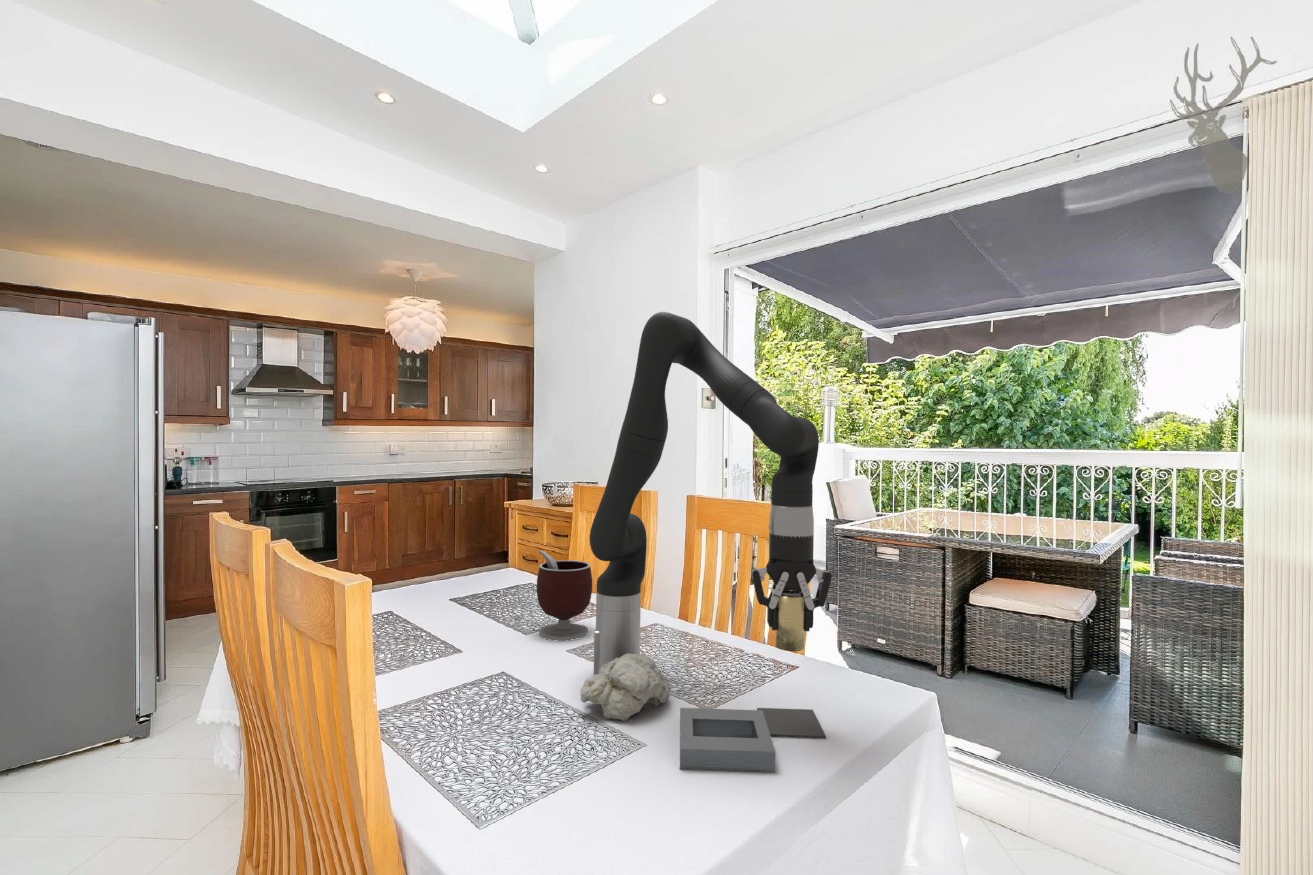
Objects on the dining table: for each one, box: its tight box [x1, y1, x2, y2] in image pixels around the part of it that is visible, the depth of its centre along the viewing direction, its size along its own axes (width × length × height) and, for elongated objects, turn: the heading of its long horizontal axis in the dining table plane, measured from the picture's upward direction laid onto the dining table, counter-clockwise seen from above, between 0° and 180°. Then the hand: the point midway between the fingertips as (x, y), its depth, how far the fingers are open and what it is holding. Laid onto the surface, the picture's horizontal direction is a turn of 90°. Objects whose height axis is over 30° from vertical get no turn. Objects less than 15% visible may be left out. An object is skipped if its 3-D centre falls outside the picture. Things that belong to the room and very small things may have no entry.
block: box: [679, 707, 776, 773], centre depth 97 cm, size 14×14×3 cm
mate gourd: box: [536, 550, 593, 642], centre depth 154 cm, size 16×14×20 cm
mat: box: [756, 707, 827, 739], centre depth 105 cm, size 10×10×1 cm
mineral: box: [579, 653, 671, 722], centre depth 110 cm, size 12×17×10 cm
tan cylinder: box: [774, 590, 806, 652], centre depth 105 cm, size 5×5×10 cm
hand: (790, 629), depth 105 cm, fingers closed on tan cylinder, 5 cm apart
